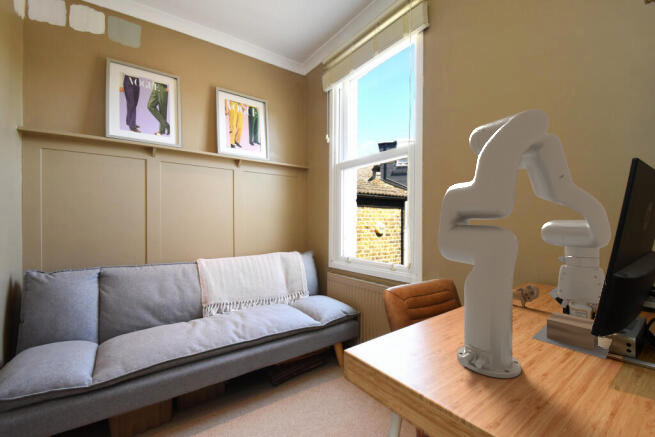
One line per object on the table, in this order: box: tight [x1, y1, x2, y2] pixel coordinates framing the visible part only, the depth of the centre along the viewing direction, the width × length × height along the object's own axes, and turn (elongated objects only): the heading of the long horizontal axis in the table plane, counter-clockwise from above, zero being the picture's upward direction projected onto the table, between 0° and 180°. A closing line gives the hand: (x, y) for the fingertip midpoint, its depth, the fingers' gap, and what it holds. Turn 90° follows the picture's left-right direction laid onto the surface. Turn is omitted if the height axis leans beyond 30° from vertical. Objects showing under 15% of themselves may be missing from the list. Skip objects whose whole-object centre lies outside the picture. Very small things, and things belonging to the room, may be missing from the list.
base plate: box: [531, 323, 610, 360], centre depth 73 cm, size 16×14×1 cm
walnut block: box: [546, 311, 598, 350], centre depth 73 cm, size 9×9×5 cm
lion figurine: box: [512, 284, 540, 309], centre depth 101 cm, size 15×5×9 cm, turn 46°
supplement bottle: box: [568, 301, 594, 320], centre depth 80 cm, size 5×5×10 cm
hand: (581, 322), depth 80 cm, fingers closed on supplement bottle, 5 cm apart
